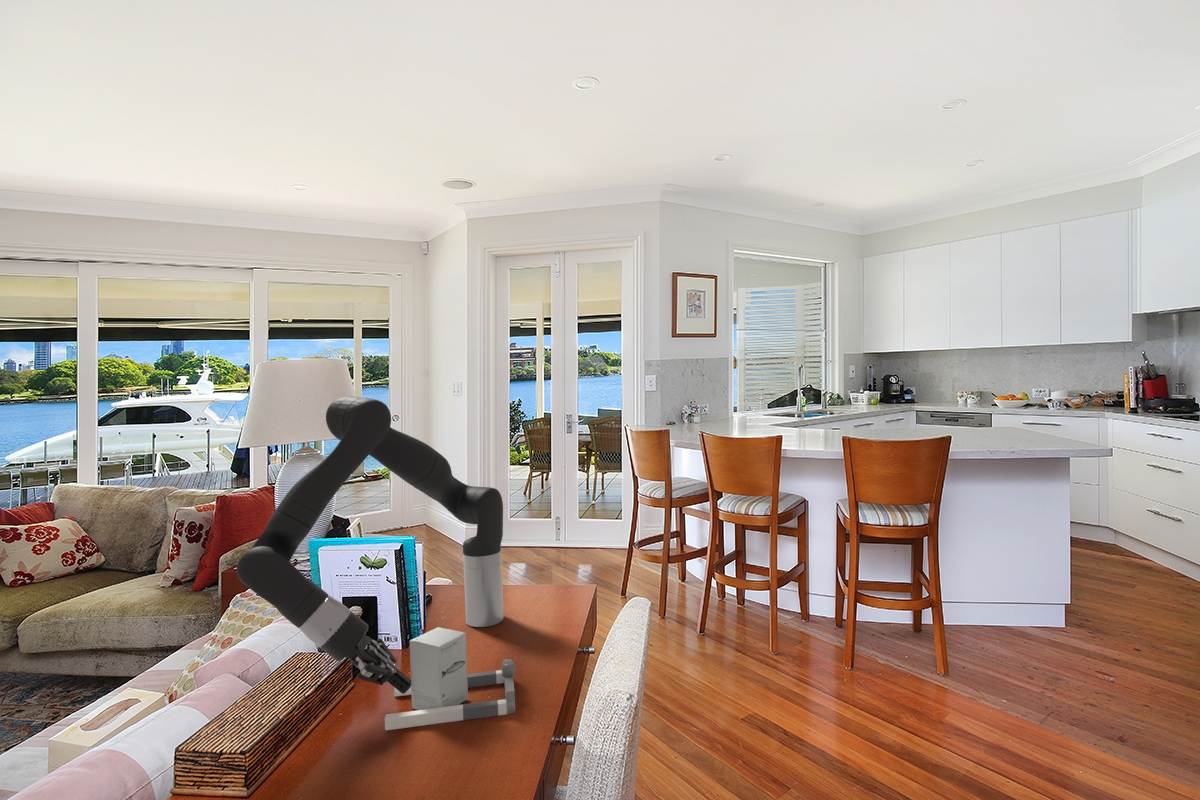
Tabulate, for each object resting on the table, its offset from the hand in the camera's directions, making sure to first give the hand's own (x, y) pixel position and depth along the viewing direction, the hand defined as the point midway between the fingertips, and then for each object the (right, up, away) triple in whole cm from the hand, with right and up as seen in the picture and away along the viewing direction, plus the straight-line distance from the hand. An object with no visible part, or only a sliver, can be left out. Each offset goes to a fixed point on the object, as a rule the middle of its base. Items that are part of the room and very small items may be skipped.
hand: (408, 687), depth 114 cm
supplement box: (+6, -4, +1) cm, 7 cm away
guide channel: (+8, -3, +1) cm, 9 cm away
